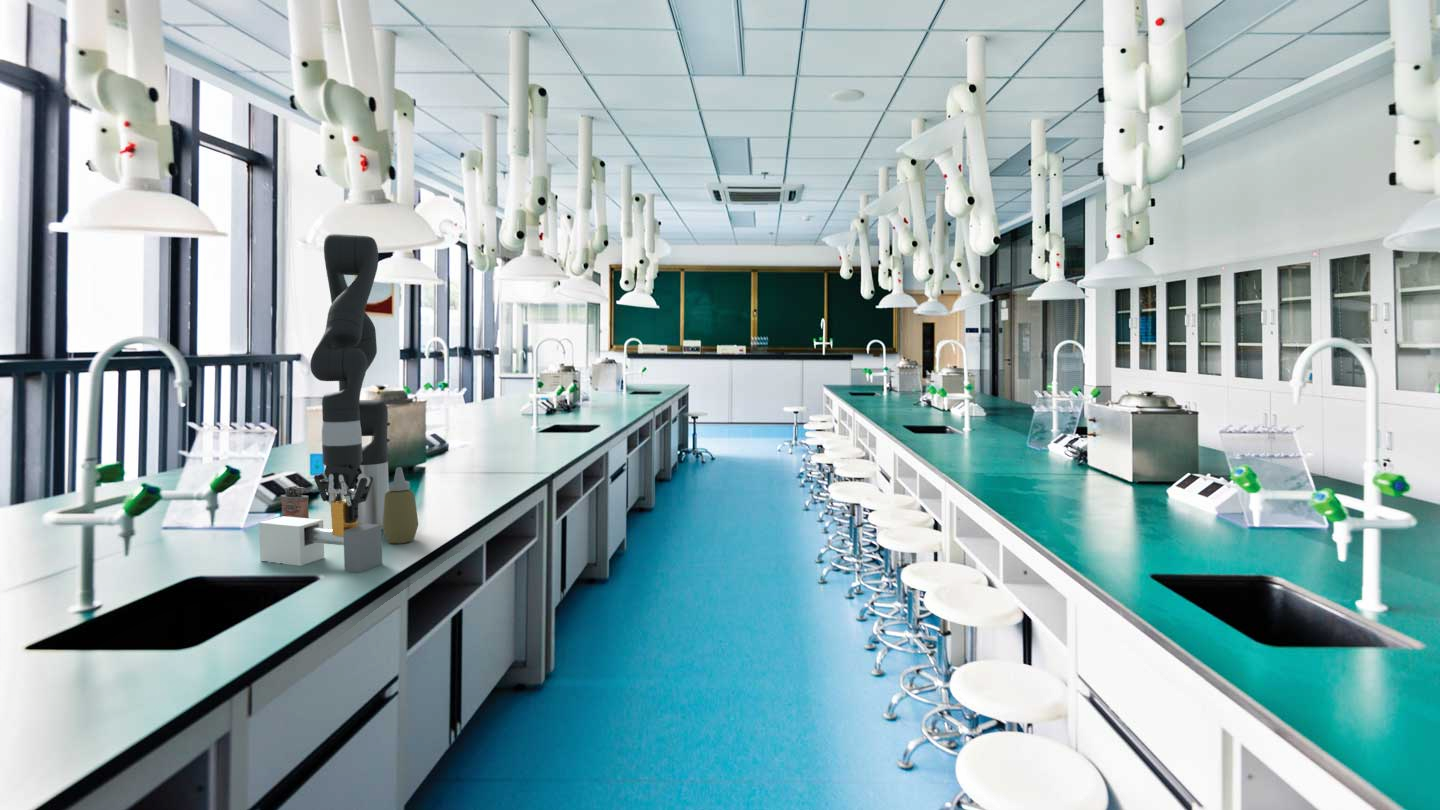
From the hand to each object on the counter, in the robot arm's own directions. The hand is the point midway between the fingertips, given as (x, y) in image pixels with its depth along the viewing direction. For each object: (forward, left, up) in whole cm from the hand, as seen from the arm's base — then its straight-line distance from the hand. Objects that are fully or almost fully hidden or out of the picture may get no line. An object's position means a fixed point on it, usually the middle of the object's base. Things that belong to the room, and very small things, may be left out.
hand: (344, 521), depth 158 cm
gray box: (0, +5, -10) cm, 11 cm away
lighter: (-26, -40, -10) cm, 49 cm away
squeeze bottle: (-20, -2, -10) cm, 22 cm away
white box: (0, -14, -10) cm, 17 cm away
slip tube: (0, -3, -5) cm, 6 cm away
